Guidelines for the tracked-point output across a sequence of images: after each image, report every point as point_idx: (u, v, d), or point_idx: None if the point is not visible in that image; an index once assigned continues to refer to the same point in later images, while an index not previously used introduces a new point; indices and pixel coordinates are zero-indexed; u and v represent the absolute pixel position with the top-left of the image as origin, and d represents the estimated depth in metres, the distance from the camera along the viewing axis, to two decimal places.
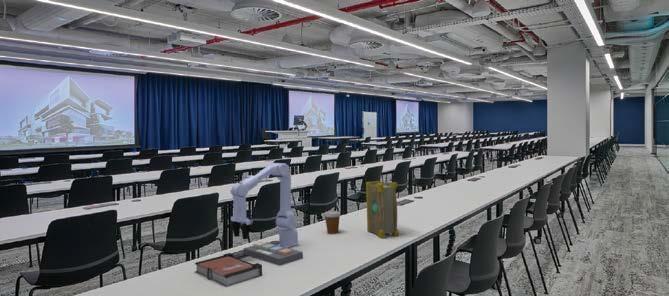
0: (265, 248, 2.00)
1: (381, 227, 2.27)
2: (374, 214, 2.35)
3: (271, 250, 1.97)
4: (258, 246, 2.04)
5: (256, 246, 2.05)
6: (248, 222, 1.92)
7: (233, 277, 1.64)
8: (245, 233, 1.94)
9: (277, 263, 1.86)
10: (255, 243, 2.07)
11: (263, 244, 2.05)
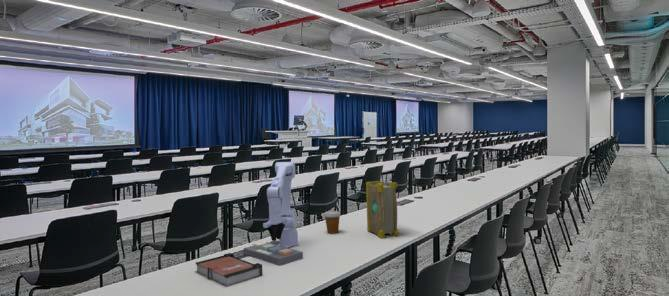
0: (265, 248, 2.00)
1: (381, 227, 2.27)
2: (374, 214, 2.35)
3: (271, 250, 1.97)
4: (258, 246, 2.04)
5: (256, 246, 2.05)
6: (264, 225, 1.92)
7: (233, 277, 1.64)
8: (272, 235, 1.96)
9: (277, 263, 1.86)
10: (255, 243, 2.07)
11: (263, 244, 2.05)
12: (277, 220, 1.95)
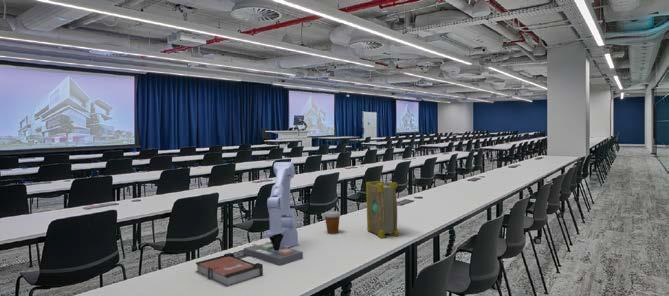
0: (265, 248, 2.00)
1: (381, 227, 2.27)
2: (374, 214, 2.35)
3: None
4: (258, 246, 2.04)
5: (256, 246, 2.05)
6: (264, 236, 1.92)
7: (234, 277, 1.65)
8: (274, 244, 1.97)
9: (277, 263, 1.86)
10: (255, 243, 2.07)
11: (263, 244, 2.05)
12: (277, 230, 1.95)
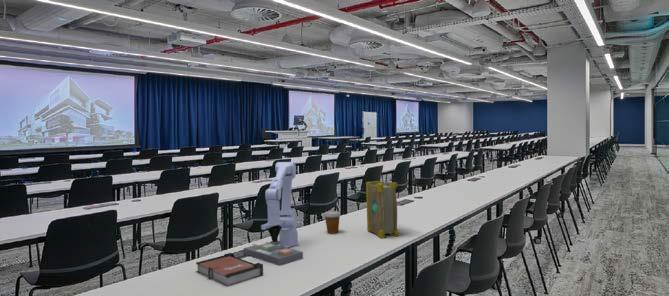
0: (265, 248, 2.00)
1: (381, 227, 2.27)
2: (374, 214, 2.35)
3: None
4: (258, 246, 2.04)
5: (256, 246, 2.05)
6: (262, 227, 1.93)
7: (234, 277, 1.65)
8: (273, 236, 1.98)
9: (277, 263, 1.86)
10: (255, 243, 2.07)
11: (263, 244, 2.05)
12: (275, 222, 1.96)
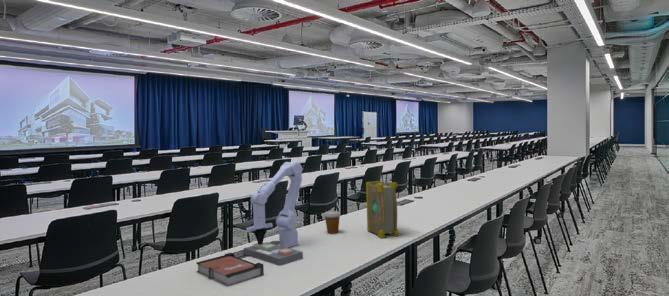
0: (265, 248, 2.00)
1: (381, 227, 2.27)
2: (374, 214, 2.35)
3: None
4: (258, 246, 2.04)
5: (256, 246, 2.05)
6: (247, 230, 2.01)
7: (235, 277, 1.65)
8: (258, 238, 2.06)
9: (277, 263, 1.86)
10: (256, 243, 2.07)
11: (263, 244, 2.05)
12: (260, 225, 2.04)
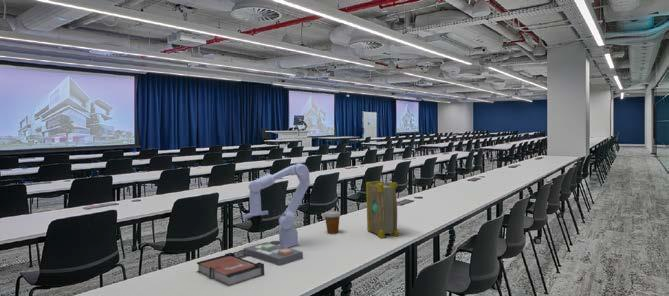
0: (265, 248, 2.00)
1: (381, 227, 2.27)
2: (374, 214, 2.35)
3: None
4: None
5: None
6: (243, 216, 2.08)
7: (235, 276, 1.65)
8: (254, 225, 2.13)
9: (277, 263, 1.86)
10: (255, 246, 2.07)
11: None
12: (256, 212, 2.11)
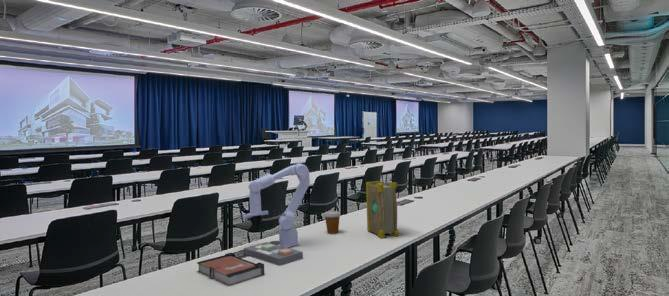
0: (265, 248, 2.00)
1: (381, 227, 2.27)
2: (374, 214, 2.35)
3: None
4: None
5: None
6: (243, 216, 2.08)
7: (236, 276, 1.65)
8: (254, 225, 2.13)
9: (277, 263, 1.86)
10: (255, 246, 2.07)
11: None
12: (256, 212, 2.11)
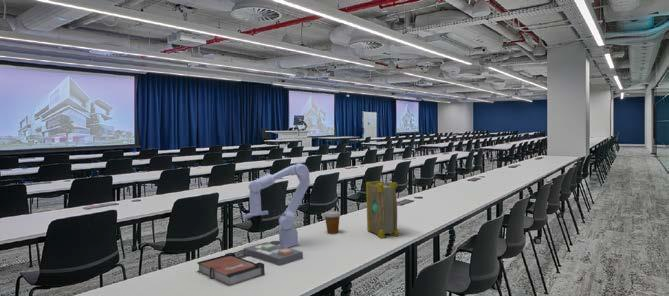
0: (265, 248, 2.00)
1: (381, 227, 2.27)
2: (374, 214, 2.35)
3: None
4: None
5: None
6: (243, 216, 2.08)
7: (236, 276, 1.65)
8: (254, 225, 2.13)
9: (277, 263, 1.86)
10: (255, 246, 2.07)
11: None
12: (256, 212, 2.11)
